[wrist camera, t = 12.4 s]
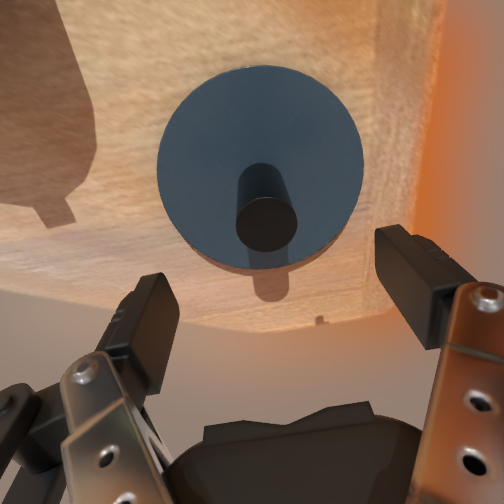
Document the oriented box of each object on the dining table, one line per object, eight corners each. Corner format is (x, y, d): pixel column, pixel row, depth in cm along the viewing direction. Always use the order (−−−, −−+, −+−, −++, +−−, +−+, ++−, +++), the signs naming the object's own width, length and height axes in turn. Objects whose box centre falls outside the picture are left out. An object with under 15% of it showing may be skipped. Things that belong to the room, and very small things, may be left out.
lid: (353, 37, 16) (418, 16, 10) (361, 243, 23) (403, 304, 17) (126, 98, 18) (64, 111, 12) (197, 276, 24) (181, 343, 18)
